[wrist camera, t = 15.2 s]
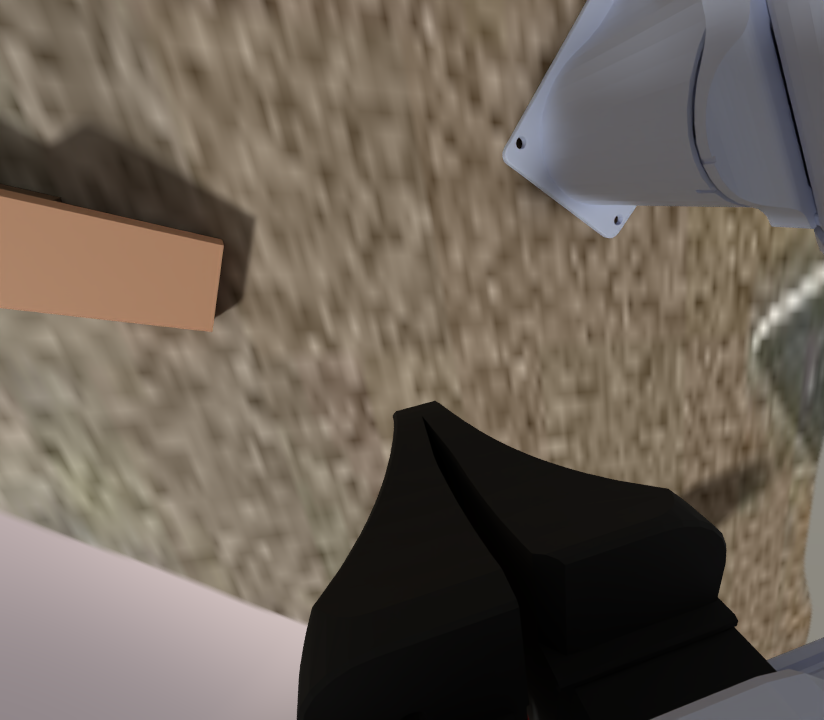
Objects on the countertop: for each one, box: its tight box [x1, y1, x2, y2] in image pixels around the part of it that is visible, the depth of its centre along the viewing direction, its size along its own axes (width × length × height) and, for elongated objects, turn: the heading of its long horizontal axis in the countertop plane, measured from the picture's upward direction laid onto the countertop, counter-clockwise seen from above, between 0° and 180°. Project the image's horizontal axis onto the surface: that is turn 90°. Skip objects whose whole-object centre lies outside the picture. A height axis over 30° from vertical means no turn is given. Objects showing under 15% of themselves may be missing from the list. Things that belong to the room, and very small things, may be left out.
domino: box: [0, 189, 224, 332], centre depth 16 cm, size 2×4×8 cm
